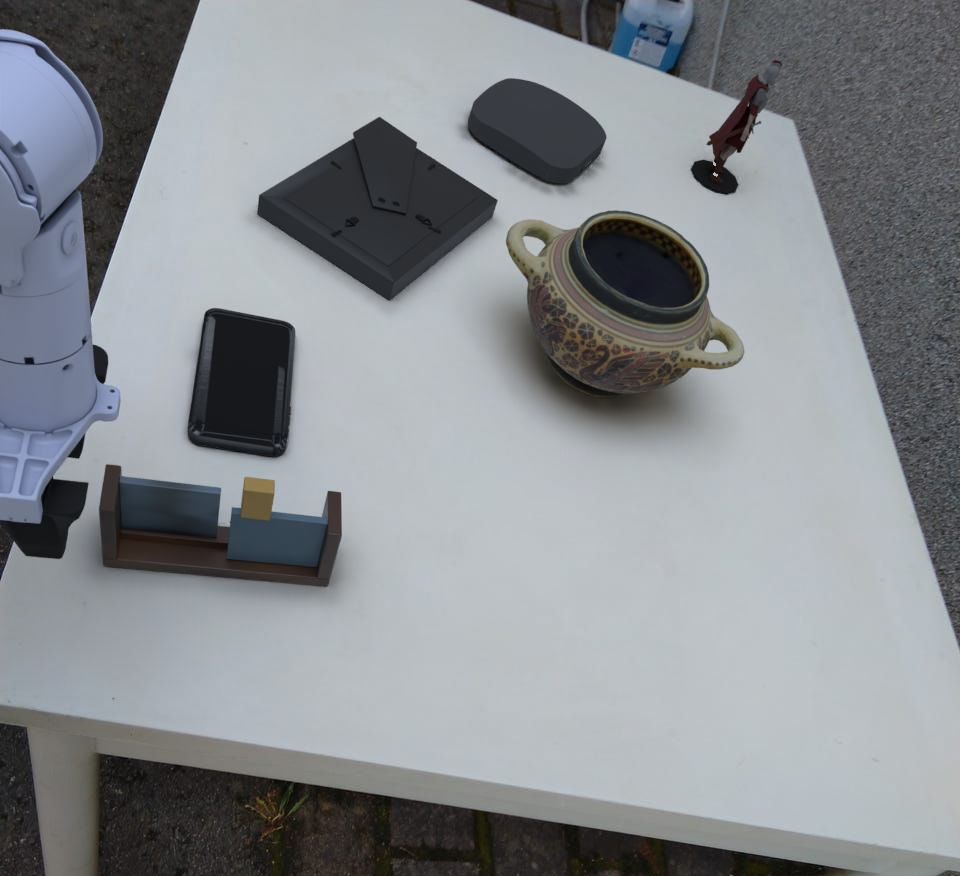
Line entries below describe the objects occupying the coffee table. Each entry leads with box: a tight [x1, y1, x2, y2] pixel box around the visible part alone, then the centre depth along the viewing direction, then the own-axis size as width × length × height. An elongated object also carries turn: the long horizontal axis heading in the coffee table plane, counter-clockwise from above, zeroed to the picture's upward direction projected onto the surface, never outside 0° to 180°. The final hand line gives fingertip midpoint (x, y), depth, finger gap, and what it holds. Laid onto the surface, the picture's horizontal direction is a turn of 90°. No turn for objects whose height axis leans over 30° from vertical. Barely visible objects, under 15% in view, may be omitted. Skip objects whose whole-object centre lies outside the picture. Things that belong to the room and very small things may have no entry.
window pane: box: [227, 476, 328, 567], centre depth 66 cm, size 7×1×8 cm, turn 95°
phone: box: [187, 307, 297, 457], centre depth 78 cm, size 8×1×15 cm
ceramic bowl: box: [505, 209, 745, 398], centre depth 88 cm, size 24×18×15 cm
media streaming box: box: [467, 77, 607, 184], centre depth 111 cm, size 15×15×3 cm
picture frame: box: [256, 116, 499, 301], centre depth 95 cm, size 16×3×21 cm
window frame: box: [98, 463, 343, 587], centre depth 67 cm, size 16×4×6 cm, turn 95°
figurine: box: [690, 59, 783, 196], centre depth 114 cm, size 7×7×15 cm
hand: (53, 501), depth 56 cm, fingers open, 7 cm apart
